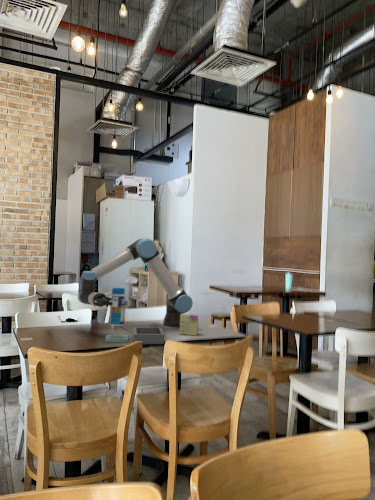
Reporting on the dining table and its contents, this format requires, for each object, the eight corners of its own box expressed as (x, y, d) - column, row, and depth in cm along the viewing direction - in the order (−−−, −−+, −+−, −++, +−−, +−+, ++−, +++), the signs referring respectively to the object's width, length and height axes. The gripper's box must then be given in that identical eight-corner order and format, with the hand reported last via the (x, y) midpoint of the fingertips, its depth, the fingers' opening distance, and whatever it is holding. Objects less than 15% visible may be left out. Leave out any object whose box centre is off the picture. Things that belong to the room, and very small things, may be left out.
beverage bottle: (106, 324, 220) (108, 287, 220) (120, 323, 225) (121, 287, 226) (113, 326, 214) (115, 289, 214) (127, 325, 219) (129, 288, 219)
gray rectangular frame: (160, 335, 233) (161, 327, 233) (164, 343, 213) (164, 334, 213) (133, 335, 231) (133, 327, 231) (133, 344, 211) (134, 334, 211)
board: (127, 337, 226) (128, 334, 226) (127, 342, 215) (128, 339, 215) (106, 337, 225) (106, 334, 225) (105, 342, 213) (105, 339, 213)
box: (197, 333, 243) (198, 314, 243) (196, 335, 237) (197, 315, 237) (180, 332, 244) (181, 313, 244) (179, 334, 238) (180, 314, 238)
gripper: (111, 304, 239) (137, 309, 224) (82, 307, 224) (107, 312, 209) (112, 292, 239) (138, 295, 224) (82, 293, 224) (108, 298, 209)
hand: (123, 303), depth 216 cm, fingers closed on beverage bottle, 8 cm apart
